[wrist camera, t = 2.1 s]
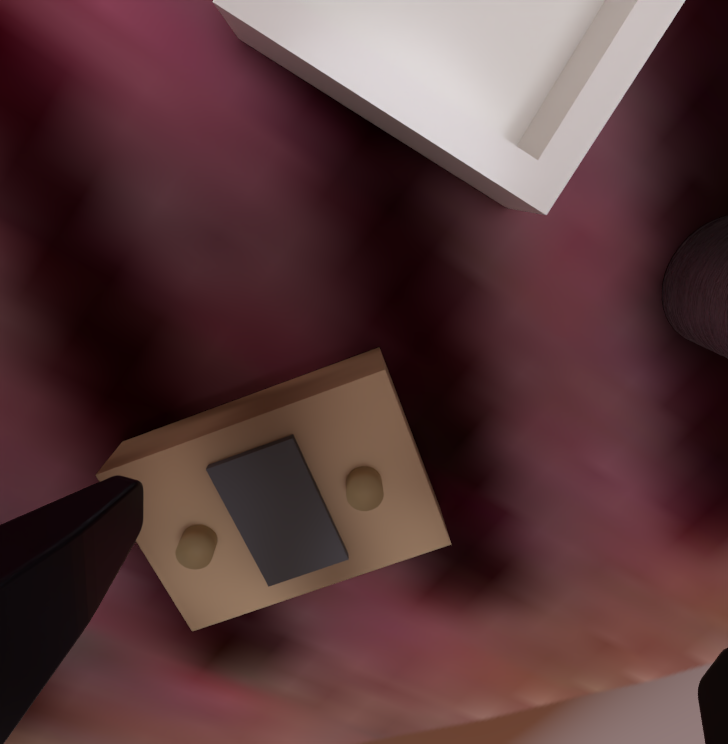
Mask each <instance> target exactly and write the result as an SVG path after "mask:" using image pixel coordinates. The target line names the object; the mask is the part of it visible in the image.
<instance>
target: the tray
mask: <svg viewBox="0 0 728 744" xmlns="http://www.w3.org/2000/svg"><path fill="white" fill-rule="evenodd" d="M684 2H685V0H213V3H214V5H215V6H216V7H217V9H218V10H219V12H220V13H221V15H222V16H223V17H224V19H225V20H226V22H227V23H228V25H229V26H230V27H231V29H232V30H233V32H234V33H235V34H236V36H237V37H238V39H240V40H241V41H243V42H244V43H246V44H248V45H249V46H251V47H252V48H254V49H256V50H257V51H259V52H260V53H262V54H263V55H265V56H267V57H268V58H270V59H271V60H273V61H275V62H276V63H278V64H279V65H281V66H282V67H284V68H286V69H287V70H289V71H290V72H292V73H294V74H295V75H297V76H298V77H300V78H301V79H303V80H305V81H306V82H308V83H309V84H311V85H313V86H314V87H316V88H317V89H319V90H320V91H322V92H324V93H325V94H327V95H328V96H330V97H332V98H333V99H335V100H336V101H338V102H340V103H341V104H343V105H344V106H346V107H347V108H349V109H351V110H352V111H354V112H355V113H357V114H359V115H360V116H362V117H363V118H365V119H366V120H368V121H370V122H371V123H373V124H374V125H376V126H378V127H379V128H381V129H382V130H384V131H385V132H387V133H389V134H390V135H392V136H393V137H395V138H397V139H398V140H400V141H401V142H403V143H404V144H406V145H408V146H409V147H411V148H412V149H414V150H416V151H417V152H419V153H420V154H422V155H423V156H425V157H427V158H428V159H430V160H431V161H433V162H435V163H436V164H438V165H439V166H441V167H443V168H444V169H446V170H447V171H449V172H450V173H452V174H454V175H455V176H457V177H458V178H460V179H462V180H463V181H465V182H466V183H468V184H469V185H471V186H473V187H474V188H476V189H477V190H479V191H481V192H482V193H484V194H485V195H487V196H488V197H490V198H492V199H493V200H495V201H496V202H498V203H500V204H501V205H503V206H504V207H506V208H509V209H514V210H520V211H525V212H531V213H536V214H542V215H547V214H548V212H549V210H550V209H551V207H552V206H553V204H554V203H555V201H556V200H557V198H558V197H559V195H560V193H561V192H562V190H563V189H564V187H565V186H566V184H567V183H568V181H569V180H570V178H571V176H572V175H573V173H574V172H575V170H576V169H577V167H578V166H579V164H580V162H581V161H582V159H583V158H584V156H585V155H586V153H587V152H588V150H589V149H590V147H591V145H592V144H593V142H594V141H595V139H596V138H597V136H598V135H599V133H600V132H601V130H602V128H603V127H604V125H605V124H606V122H607V121H608V119H609V118H610V116H611V115H612V113H613V111H614V110H615V108H616V107H617V105H618V104H619V102H620V101H621V99H622V98H623V96H624V94H625V93H626V91H627V90H628V88H629V87H630V85H631V84H632V82H633V80H634V79H635V77H636V76H637V74H638V73H639V71H640V70H641V68H642V67H643V65H644V63H645V62H646V60H647V59H648V57H649V56H650V54H651V53H652V51H653V50H654V48H655V46H656V45H657V43H658V42H659V40H660V39H661V37H662V36H663V34H664V33H665V31H666V29H667V28H668V26H669V25H670V23H671V22H672V20H673V19H674V17H675V15H676V14H677V12H678V11H679V9H680V8H681V6H682V5H683V3H684Z"/></svg>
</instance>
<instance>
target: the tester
mask: <svg viewBox="0 0 728 744" xmlns="http://www.w3.org/2000/svg"><path fill="white" fill-rule="evenodd" d="M116 475H120V476H124V477H128V478H131V479H135V480H138V481H140V482H141V483H142V485H143V490H144V497H143V525H142V529H141V531H140V534H139V536H138V538H137V539H136V542H137V543H138V545H139V546H140V548H141V550H142V551H143V553H144V554H145V556H146V558H147V559H148V561H149V563H150V564H151V566H152V567H153V569H154V571H155V572H156V574H157V575H158V577H159V579H160V580H161V582H162V584H163V585H164V587H165V588H166V590H167V592H168V593H169V595H170V597H171V598H172V600H173V601H174V603H175V605H176V606H177V608H178V609H179V611H180V613H181V614H182V616H183V618H184V619H185V621H186V622H187V624H188V626H189V627H190V629H191V630H192V631H195V630H198V629H201V628H204V627H207V626H210V625H213V624H216V623H219V622H222V621H225V620H228V619H231V618H234V617H237V616H240V615H243V614H246V613H249V612H252V611H255V610H258V609H261V608H264V607H266V606H269V605H272V604H275V603H278V602H281V601H284V600H287V599H290V598H293V597H296V596H299V595H302V594H305V593H308V592H311V591H314V590H317V589H320V588H323V587H326V586H329V585H332V584H335V583H338V582H341V581H344V580H347V579H350V578H353V577H356V576H359V575H362V574H365V573H368V572H371V571H374V570H377V569H379V568H382V567H385V566H388V565H391V564H394V563H397V562H400V561H403V560H406V559H409V558H412V557H415V556H418V555H421V554H424V553H427V552H430V551H433V550H436V549H439V548H442V547H445V546H448V545H451V541H450V538H449V535H448V532H447V529H446V526H445V522H444V519H443V516H442V513H441V510H440V506H439V504H438V501H437V498H436V496H435V493H434V490H433V488H432V485H431V483H430V480H429V477H428V475H427V472H426V469H425V467H424V464H423V461H422V459H421V456H420V453H419V451H418V448H417V445H416V443H415V440H414V437H413V435H412V432H411V430H410V427H409V424H408V422H407V419H406V416H405V414H404V411H403V408H402V406H401V403H400V400H399V398H398V395H397V392H396V390H395V387H394V384H393V382H392V379H391V377H390V374H389V371H388V369H387V366H386V363H385V361H384V358H383V355H382V353H381V350H380V347H378V348H376V349H373V350H370V351H368V352H365V353H362V354H359V355H357V356H354V357H351V358H349V359H346V360H343V361H340V362H338V363H335V364H332V365H330V366H327V367H324V368H321V369H319V370H316V371H313V372H310V373H308V374H305V375H302V376H300V377H297V378H294V379H291V380H289V381H286V382H283V383H281V384H278V385H275V386H272V387H270V388H267V389H264V390H261V391H259V392H256V393H253V394H251V395H248V396H245V397H242V398H240V399H237V400H234V401H232V402H229V403H226V404H223V405H221V406H218V407H215V408H213V409H210V410H207V411H204V412H202V413H199V414H196V415H193V416H191V417H188V418H185V419H183V420H180V421H177V422H174V423H172V424H169V425H166V426H164V427H161V428H158V429H155V430H153V431H150V432H147V433H145V434H142V435H139V436H136V437H134V438H131V439H128V440H125V441H123V442H122V443H121V444H120V445H119V446H118V448H117V449H116V450H115V451H114V453H113V454H112V455H111V456H110V458H109V459H108V460H107V461H106V463H105V464H104V465H103V466H102V467H101V469H100V470H99V471H98V472H97V474H96V477H97V479H98V480H99V482H100V481H103V480H105V479H107V478H110V477H112V476H116Z"/></svg>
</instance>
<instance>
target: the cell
mask: <svg viewBox="0 0 728 744" xmlns="http://www.w3.org/2000/svg"><path fill="white" fill-rule="evenodd" d="M662 302H663V308H664V311H665V315H666V317H667V319H668V321H669V323H670V324H671V326H672V327H673V328H674V329H675V330H676V331H677V332H678V333H679V334H680V335H681V336H683V337H684V338H686V339H688V340H690V341H692V342H694V343H696V344H698V345H700V346H702V347H705V348H707V349H709V350H711V351H713V352H715V353H717V354H720V355H722V356H724V357H726V358H728V216H724V217H721V218H718V219H715V220H713V221H711V222H709V223H707V224H705V225H704V226H702V227H700V228H699V229H698V230H696V231H695V232H694V233H693V234H691V235H690V236H689V237H688V238H687V239H686V240H685V241H684V242H683V243H682V245H681V246H680V247H679V248H678V250H677V251H676V253H675V254H674V256H673V257H672V259H671V261H670V263H669V265H668V268H667V270H666V273H665V276H664V281H663V287H662Z"/></svg>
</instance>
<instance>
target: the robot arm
mask: <svg viewBox="0 0 728 744" xmlns="http://www.w3.org/2000/svg"><path fill="white" fill-rule="evenodd" d="M143 497H144V490H143V485H142V483H141V482H140V481H138V480H135V479H131V478H128V477H124V476H120V475H116V476H112V477H110V478H107V479H105V480H103V481H100V482H98V483H96V484H94V485H91V486H89V487H87V488H84V489H82V490H80V491H77V492H75V493H73V494H70V495H68V496H66V497H64V498H61V499H59V500H57V501H54V502H52V503H50V504H47V505H45V506H43V507H40V508H38V509H36V510H34V511H31V512H29V513H27V514H24V515H22V516H20V517H17V518H15V519H13V520H10V521H8V522H6V523H3V524H1V525H0V744H4V742H5V741H6V740H7V738H8V737H9V735H10V734H11V732H12V731H13V730H14V728H15V727H16V725H17V724H18V723H19V721H20V720H21V718H22V717H23V716H24V714H25V713H26V711H27V710H28V709H29V707H30V706H31V704H32V703H33V701H34V700H35V699H36V697H37V696H38V694H39V693H40V692H41V690H42V689H43V687H44V686H45V685H46V683H47V682H48V680H49V679H50V677H51V676H52V675H53V673H54V672H55V670H56V669H57V668H58V666H59V665H60V663H61V662H62V661H63V659H64V658H65V656H66V655H67V654H68V652H69V651H70V649H71V648H72V646H73V645H74V644H75V642H76V641H77V639H78V638H79V637H80V635H81V634H82V632H83V631H84V629H85V628H86V626H87V625H88V623H89V622H90V620H91V618H92V617H93V615H94V613H95V612H96V610H97V608H98V606H99V605H100V603H101V601H102V599H103V598H104V596H105V594H106V592H107V591H108V589H109V587H110V585H111V583H112V582H113V580H114V578H115V576H116V575H117V573H118V571H119V569H120V568H121V566H122V564H123V562H124V560H125V559H126V557H127V555H128V553H129V552H130V550H131V548H132V546H133V545H134V543H135V541H136V539H137V538H138V536H139V534H140V531H141V529H142V525H143ZM698 700H699V706H700V712H701V719H702V725H703V731H704V738H705V744H728V648H727V649H724V650H723V651H722V652H721V653H720V655H719V656H718V657H717V659H716V660H715V661H714V663H713V664H712V665H711V667H710V668H709V669H708V671H707V672H706V673H705V675H704V676H703V677H702V679H701V681H700V683H699V687H698Z"/></svg>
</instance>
